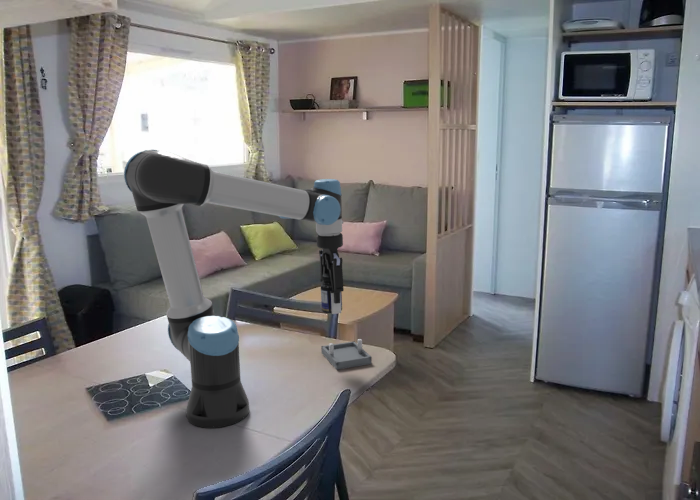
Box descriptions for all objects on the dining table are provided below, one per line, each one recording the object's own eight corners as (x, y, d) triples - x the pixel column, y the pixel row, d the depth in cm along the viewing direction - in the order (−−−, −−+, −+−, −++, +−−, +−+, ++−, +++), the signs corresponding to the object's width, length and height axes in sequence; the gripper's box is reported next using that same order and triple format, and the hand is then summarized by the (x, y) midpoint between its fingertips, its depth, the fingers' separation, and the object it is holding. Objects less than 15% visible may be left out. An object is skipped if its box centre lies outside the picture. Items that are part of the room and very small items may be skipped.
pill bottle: (343, 307, 180) (342, 272, 177) (341, 314, 174) (339, 277, 171) (322, 307, 180) (321, 272, 178) (320, 314, 174) (318, 277, 172)
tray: (371, 363, 177) (371, 347, 176) (336, 369, 173) (336, 352, 172) (354, 347, 190) (354, 332, 189) (321, 352, 186) (321, 337, 185)
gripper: (353, 237, 164) (356, 317, 169) (330, 226, 182) (333, 299, 187) (328, 240, 162) (331, 321, 167) (307, 229, 179) (310, 302, 184)
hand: (332, 309), depth 177 cm, fingers closed on pill bottle, 6 cm apart
